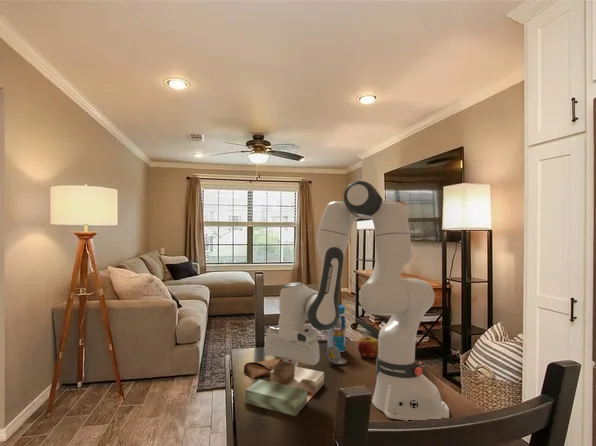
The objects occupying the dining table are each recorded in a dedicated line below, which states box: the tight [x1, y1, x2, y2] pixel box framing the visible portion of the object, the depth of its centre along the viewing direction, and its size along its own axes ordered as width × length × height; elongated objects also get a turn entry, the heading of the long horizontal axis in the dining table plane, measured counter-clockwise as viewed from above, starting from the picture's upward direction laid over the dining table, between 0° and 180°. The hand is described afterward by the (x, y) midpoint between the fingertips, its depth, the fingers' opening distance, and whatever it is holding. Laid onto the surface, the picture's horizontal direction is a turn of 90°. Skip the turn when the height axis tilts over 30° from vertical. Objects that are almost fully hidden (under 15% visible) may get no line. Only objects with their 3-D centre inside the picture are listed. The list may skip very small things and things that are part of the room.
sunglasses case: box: [243, 358, 283, 381], centre depth 131 cm, size 18×7×7 cm
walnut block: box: [273, 361, 294, 385], centre depth 114 cm, size 5×5×5 cm
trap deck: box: [244, 366, 325, 417], centre depth 114 cm, size 17×24×4 cm
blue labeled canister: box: [326, 304, 347, 353], centre depth 157 cm, size 8×8×20 cm
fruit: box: [357, 336, 378, 359], centre depth 149 cm, size 10×9×8 cm
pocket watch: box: [326, 340, 348, 366], centre depth 141 cm, size 8×8×10 cm
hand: (290, 372), depth 116 cm, fingers closed, pressing on walnut block
